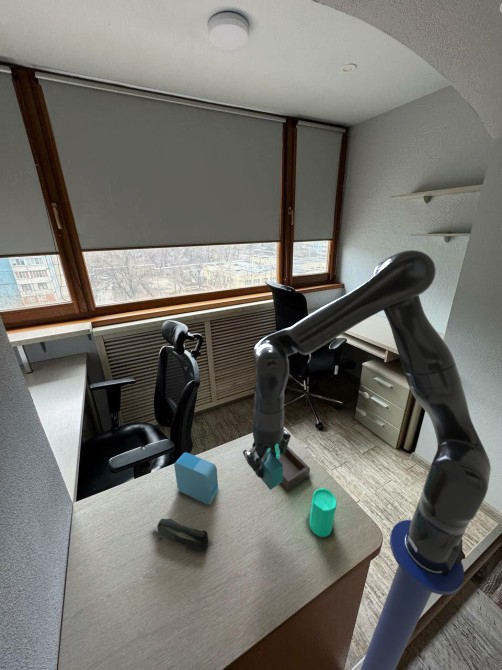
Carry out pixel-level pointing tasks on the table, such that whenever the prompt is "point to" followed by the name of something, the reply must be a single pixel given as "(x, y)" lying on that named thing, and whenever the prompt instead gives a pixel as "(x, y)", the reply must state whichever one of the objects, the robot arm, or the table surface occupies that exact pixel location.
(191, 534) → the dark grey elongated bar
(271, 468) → the block
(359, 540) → the table surface
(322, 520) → the candle
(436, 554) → the robot arm
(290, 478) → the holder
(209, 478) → the data package
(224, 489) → the table surface
